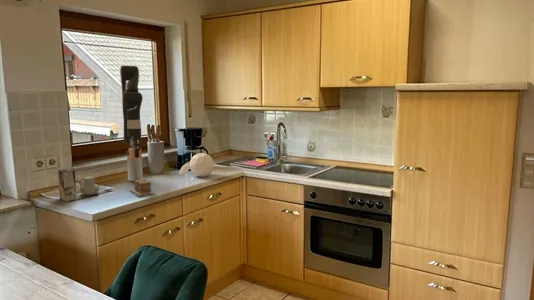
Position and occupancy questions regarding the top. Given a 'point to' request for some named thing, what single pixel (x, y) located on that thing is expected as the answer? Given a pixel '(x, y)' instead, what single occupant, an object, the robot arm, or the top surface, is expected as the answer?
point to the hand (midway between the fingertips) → (135, 156)
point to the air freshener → (89, 186)
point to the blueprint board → (141, 194)
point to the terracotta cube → (132, 153)
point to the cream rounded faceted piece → (199, 165)
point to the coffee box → (67, 184)
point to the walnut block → (142, 186)
